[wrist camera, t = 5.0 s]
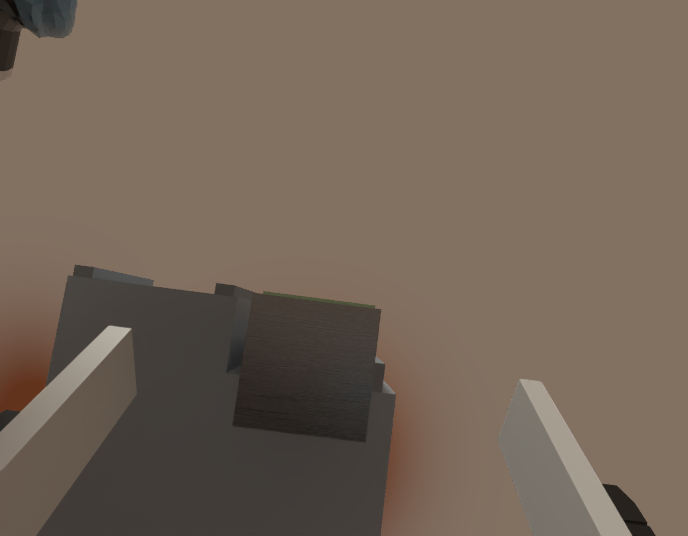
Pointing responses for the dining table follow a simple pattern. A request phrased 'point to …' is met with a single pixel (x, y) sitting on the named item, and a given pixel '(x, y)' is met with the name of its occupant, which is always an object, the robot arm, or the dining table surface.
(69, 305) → the stand
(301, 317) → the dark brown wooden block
